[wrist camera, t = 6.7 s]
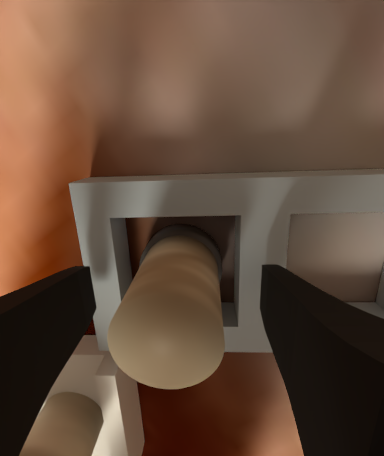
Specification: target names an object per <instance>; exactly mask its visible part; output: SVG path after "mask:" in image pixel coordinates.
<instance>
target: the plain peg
mask: <svg viewBox="0 0 384 456" xmlns="http://www.w3.org/2000/svg"><path fill="white" fill-rule="evenodd" d="M103 422H104V420H103V415H102V410H101V408H100V406H99V405H98V404H97V403H96V402H95V401H93V400H92V399H90V398H89V397H87V396H85V395H82V394H79V393H74V392H62V393H58V394H55V395H53V396H52V397H50V398H49V399H48V400H47V402H46V404H45V405H44V407H43V408H42V410H41V412H40V413H39V415H38V416H37V418H36V420H35V422H34V424H33V426H32V429H31V431H30V433H29V435H28V437H27V439H26V442H25V444H24V446H23V448H22V450H21V452H20V455H19V456H92V453H93V450H94V447H95V445H96V442H97V439H98V436H99V434H100V431H101V428H102V426H103Z"/></svg>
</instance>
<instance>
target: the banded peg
mask: <svg viewBox="0 0 384 456" xmlns="http://www.w3.org/2000/svg"><path fill="white" fill-rule="evenodd" d="M221 276H222V264H221V256H220V251H219V248H218V246H217V244H216V242H215V241H214V239H213V238H212V237H211V236H210V235H209V234H208V233H207V232H205V231H204V230H202V229H201V228H198V227H196V226H193V225H188V224H174V225H170V226H167V227H165V228H163V229H161V230H160V231H158V232H157V233H156V234H155V235H154V236H153V237H152V238H151V239H150V241H149V243H148V244H147V246H146V248H145V250H144V251H143V253H142V256H141V259H140V265H139V270H138V271H137V273H136V275H135V277H134V279H133V281H132V283H131V284H130V286H129V288H128V290H127V292H126V294H125V296H124V298H123V299H122V301H121V303H120V305H119V307H118V309H117V311H116V312H115V314H114V316H113V318H112V320H111V322H110V325H109V328H108V334H107V341H108V347H109V351H110V353H111V356H112V358H113V359H114V361H115V362H116V364H117V365H118V366H119V368H120V369H121V370H122V371H123V372H125V373H126V374H127V375H128V376H130V377H131V378H133V379H134V380H136V381H138V382H140V383H142V384H145V385H148V386H151V387H155V388H160V389H181V388H186V387H190V386H193V385H196V384H198V383H200V382H202V381H204V380H205V379H207V378H208V377H209V376H210V375H212V374H213V373H214V371H215V370H216V369H217V368H218V366H219V365H220V363H221V361H222V358H223V355H224V351H225V340H224V329H223V319H222V308H221V298H220V287H219V283H220V280H221Z"/></svg>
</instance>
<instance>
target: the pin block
mask: <svg viewBox="0 0 384 456" xmlns="http://www.w3.org/2000/svg"><path fill="white" fill-rule="evenodd" d="M69 188H70V194H71V199H72V205H73V210H74V216H75V221H76V227H77V232H78V238H79V243H80V249H81V254H82V260H83V265H84V266H90V272H91V278H92V284H93V290H94V295H95V301H96V307H97V308H96V311H95V313H94V316H93V320H94V326H95V331H96V337H97V342H98V348H99V351H109V347H108V341H107V334H108V328H109V325H110V322H111V320H112V318H113V316H114V314H115V312H116V311H117V309H118V307H119V305H120V303H121V301H122V299H123V298H124V296H125V294H126V292H127V290H128V288H129V286H130V284H131V283H132V281H133V280H132V271H131V263H130V255H129V246H128V238H127V229H126V221H125V218H132V217H181V216H230V215H235V262H234V302H221V308H222V319H223V329H224V340H225V351H224V352H271V353H273V351H272V348H271V346H270V343H269V340H268V338H267V335H266V332H265V329H264V325H263V321H262V316H261V312H260V292H261V274H262V265H266V264H278V265H280V266H282V267H283V268H285V269H286V263H287V252H288V240H289V229H290V217H291V214H328V213H376V212H384V169H351V170H317V171H284V172H250V173H217V174H183V175H150V176H117V177H89V178H85V179H82V180H78V181H75V182H71V183H69ZM345 303H347V304H349V305H352V306H354V307H356V308H358V309H361V310H363V311H365V312H368V313H370V314H373V315H375V316H378V317H380V318H383V319H384V265H383V270H382V274H381V279H380V284H379V288H378V293H377V297H376V302H345Z"/></svg>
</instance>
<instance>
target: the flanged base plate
mask: <svg viewBox="0 0 384 456" xmlns="http://www.w3.org/2000/svg"><path fill="white" fill-rule="evenodd" d="M62 392H74V393H79V394H82V395H85V396H87V397H89V398H90V399H92V400H93V401H95V402H96V403H97V404H98V405H99V406H100V408H101V410H102V415H103V420H104V422H103V426H102V428H101V431H100V434H99V436H98V439H97V442H96V445H95V447H94V450H93V453H92V456H142V452H143V447H144V442H145V440H144V432H143V424H142V417H141V409H140V402H139V394H138V386H137V381H136V380H134V379H133V378H131V377H130V376H128V375H127V374H126V373H125V372H123V371H122V370H121V369H120V368H119V366H118V365H117V364H116V362H115V361H114V359H113V358H112V356H111V353H110V351H99V348H98V342H97V337H96V335H84V336H83V337H82V339H81V341H80V342H79V344H78V346H77V347H76V349H75V350H74V352H73V354H72V355H71V357H70V358H69V360H68V362H67V363H66V365H65V366H64V368H63V370H62V371H61V373H60V374H59V376H58V378H57V379H56V381H55V383H54V385H53V386H52V388H51V390H50V392H49V394H48V396H47V398H46V400H45V402H44V404H43V406H42V408H43V407H44V405H45V404H46V402H47V400H48V399H49V398H50V397H52V396H53V395H55V394H58V393H62ZM42 408H41V410H42ZM41 410H40V412H41ZM40 412H39V413H40ZM38 415H39V414H38Z"/></svg>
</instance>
